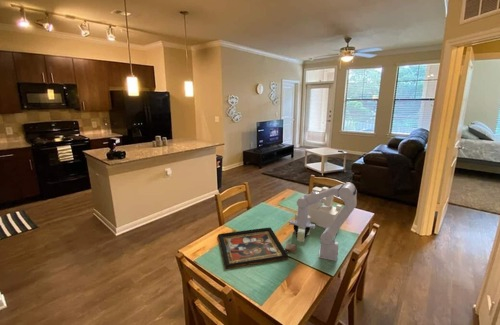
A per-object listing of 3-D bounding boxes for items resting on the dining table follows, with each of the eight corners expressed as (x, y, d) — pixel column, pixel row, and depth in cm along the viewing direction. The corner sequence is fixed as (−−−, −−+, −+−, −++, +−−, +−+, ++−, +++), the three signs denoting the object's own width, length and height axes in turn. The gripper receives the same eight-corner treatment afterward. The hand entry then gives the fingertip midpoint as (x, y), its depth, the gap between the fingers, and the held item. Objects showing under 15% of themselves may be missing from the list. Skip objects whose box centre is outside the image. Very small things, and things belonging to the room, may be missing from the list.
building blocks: (339, 224, 170) (343, 190, 163) (332, 231, 161) (336, 196, 154) (311, 214, 183) (314, 183, 176) (303, 220, 175) (306, 187, 168)
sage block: (304, 238, 146) (305, 229, 144) (304, 241, 142) (304, 233, 140) (298, 236, 147) (298, 228, 145) (297, 240, 143) (297, 232, 142)
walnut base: (295, 248, 143) (296, 244, 143) (294, 254, 138) (294, 250, 138) (286, 246, 145) (286, 243, 144) (284, 252, 140) (285, 248, 139)
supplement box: (300, 237, 154) (301, 219, 150) (293, 231, 161) (294, 213, 157) (310, 234, 157) (311, 217, 153) (303, 229, 163) (304, 212, 160)
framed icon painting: (267, 226, 167) (267, 223, 166) (294, 258, 135) (294, 254, 134) (212, 238, 154) (212, 234, 153) (227, 276, 122) (227, 271, 121)
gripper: (316, 215, 142) (314, 235, 145) (291, 211, 146) (290, 231, 150) (315, 220, 135) (313, 242, 139) (289, 216, 140) (288, 237, 143)
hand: (301, 237), depth 144 cm, fingers closed on sage block, 4 cm apart
